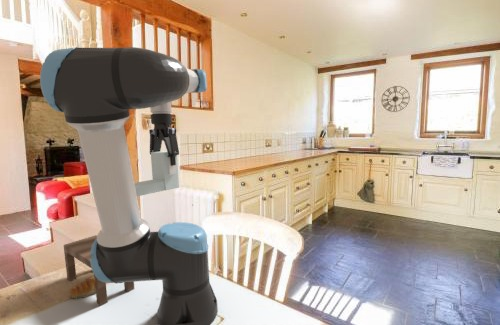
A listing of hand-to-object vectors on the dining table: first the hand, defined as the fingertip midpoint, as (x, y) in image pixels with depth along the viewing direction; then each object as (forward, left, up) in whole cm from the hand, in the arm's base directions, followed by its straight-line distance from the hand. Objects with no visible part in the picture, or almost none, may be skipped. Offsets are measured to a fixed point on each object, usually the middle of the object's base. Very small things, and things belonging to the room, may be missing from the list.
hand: (165, 173), depth 104 cm
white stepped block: (0, +9, -6) cm, 10 cm away
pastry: (-2, +30, -32) cm, 44 cm away
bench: (0, +27, -32) cm, 42 cm away
